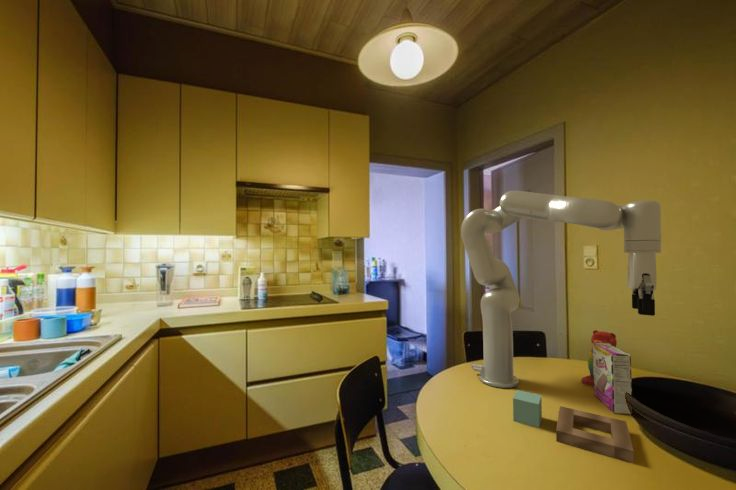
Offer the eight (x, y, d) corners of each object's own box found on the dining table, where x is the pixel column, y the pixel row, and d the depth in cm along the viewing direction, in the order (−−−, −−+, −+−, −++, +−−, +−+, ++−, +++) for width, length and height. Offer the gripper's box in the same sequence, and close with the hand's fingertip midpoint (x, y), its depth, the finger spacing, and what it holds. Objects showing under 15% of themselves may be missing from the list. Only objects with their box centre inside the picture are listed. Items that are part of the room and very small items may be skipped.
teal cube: (513, 421, 83) (513, 398, 83) (517, 411, 88) (517, 389, 88) (539, 428, 80) (538, 404, 80) (541, 417, 85) (541, 395, 85)
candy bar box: (592, 395, 97) (591, 342, 98) (610, 397, 96) (609, 342, 97) (612, 413, 86) (611, 353, 87) (633, 415, 85) (632, 354, 86)
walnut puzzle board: (556, 440, 74) (556, 430, 74) (560, 415, 86) (559, 406, 86) (633, 463, 66) (633, 451, 66) (626, 431, 78) (626, 421, 78)
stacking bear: (578, 382, 107) (577, 329, 108) (597, 377, 111) (595, 326, 112) (613, 395, 97) (612, 337, 98) (632, 389, 101) (631, 333, 102)
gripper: (620, 247, 94) (620, 305, 93) (628, 247, 79) (629, 315, 79) (653, 247, 90) (654, 308, 89) (669, 247, 75) (670, 319, 75)
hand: (642, 311), depth 84 cm, fingers open, 9 cm apart
